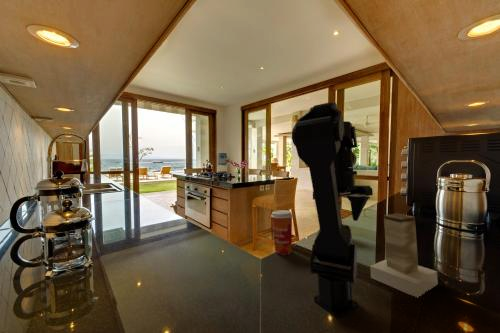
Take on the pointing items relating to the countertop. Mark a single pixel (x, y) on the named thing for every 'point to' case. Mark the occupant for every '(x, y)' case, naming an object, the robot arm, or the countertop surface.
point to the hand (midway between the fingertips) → (344, 223)
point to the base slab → (405, 278)
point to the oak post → (401, 243)
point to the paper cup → (282, 231)
